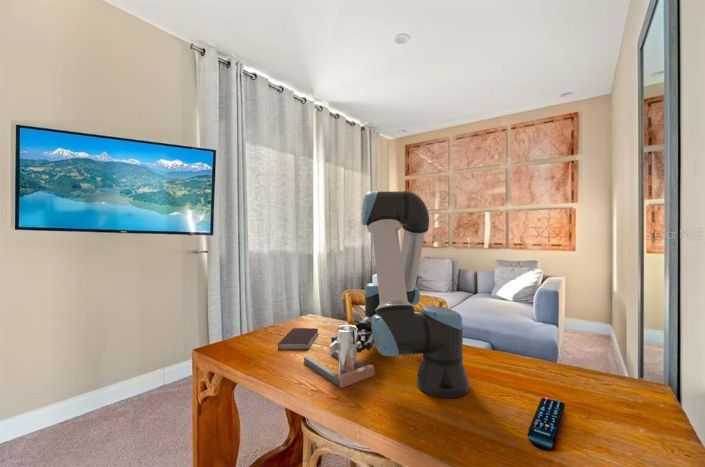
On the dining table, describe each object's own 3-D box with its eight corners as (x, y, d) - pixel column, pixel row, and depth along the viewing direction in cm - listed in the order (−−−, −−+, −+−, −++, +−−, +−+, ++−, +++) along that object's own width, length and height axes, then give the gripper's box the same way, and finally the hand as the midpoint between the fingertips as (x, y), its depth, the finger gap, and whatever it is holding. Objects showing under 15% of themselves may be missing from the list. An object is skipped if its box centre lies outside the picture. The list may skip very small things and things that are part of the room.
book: (277, 350, 129) (277, 342, 128) (292, 334, 148) (292, 326, 148) (308, 351, 127) (308, 343, 127) (319, 334, 146) (319, 327, 146)
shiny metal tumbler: (358, 369, 109) (358, 325, 108) (357, 379, 102) (356, 331, 101) (338, 368, 109) (338, 324, 109) (335, 378, 102) (334, 331, 102)
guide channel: (374, 375, 105) (374, 366, 105) (341, 387, 97) (341, 378, 97) (334, 353, 123) (334, 345, 123) (304, 362, 115) (303, 354, 115)
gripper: (391, 342, 118) (370, 369, 97) (342, 336, 126) (313, 359, 104) (391, 322, 118) (370, 344, 97) (342, 317, 125) (313, 336, 104)
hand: (340, 352), depth 101 cm, fingers closed on shiny metal tumbler, 7 cm apart
